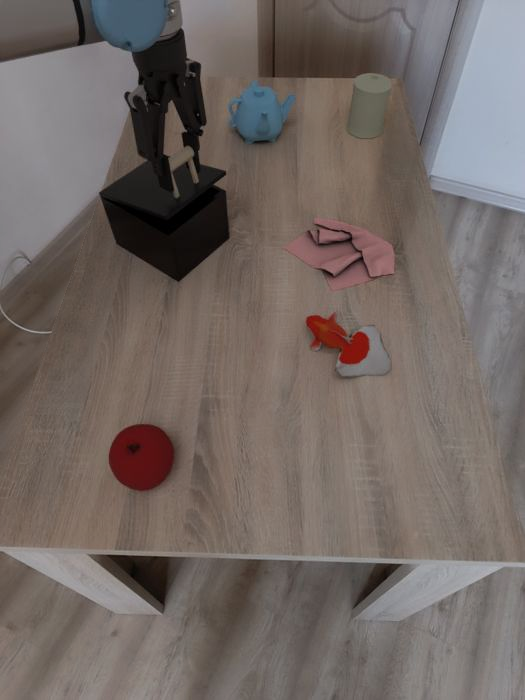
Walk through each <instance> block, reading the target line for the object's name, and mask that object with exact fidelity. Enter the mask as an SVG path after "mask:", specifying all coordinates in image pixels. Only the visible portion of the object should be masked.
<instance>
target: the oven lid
mask: <svg viewBox="0 0 525 700" xmlns="http://www.w3.org/2000/svg"><path fill="white" fill-rule="evenodd" d="M167 156H168V159H169V165H170V170H171V175H172V181H173V186H174V191H173V192H172V193H171V192H169V191H167V190H165V189H163V188H161V187H160V185H159V181H158V176H157V175H156V174H155V173H154V172H153V167H152V163H151V161H149V160H147V159H146V161H144V162H142V163H141V164H139V165H138V166H137V167H136V166H135V168H133V169H132V170H130V171H128V172H127V173H126V174H125V175H123V176H122V177H120V178H118V179H117V180H115V181H114V182H113V183H111V184H110V185H108V186H106V187H105V188H103V189H102V190H101V191H99V192H98V194H99V197H100V198H101V197H104V198H106V199H109V200H112V201H115V202H118V203H120V204H123V205H126V206H129V207H131V208H134V209H137V210H140V211H143V212H145V213H148V214H151V215H154V216H156V217H159V218H162V219H165V220H168V219H169V218H171V217H172V216H173V215H175V214H176V213H177V212H179V211H180V210H181V209H182V208H184V207H185V206H186V205H188V204H189V203H190V202H192V201H193V200H194V199H195V198H197V197H198V196H199V195H201V194H202V193H203V192H205V191H206V190H207V189H209V188H210V187H211V186H212V185H216V183H218V182H219V181H221V180H222V179H223V178H225V177H226V176H227V170H224V169H221V168H217V167H213V166H209V165H206V164H202V163H200V168H201V172H199V173H196V169H195V165H194V162H193V158H192V157H194V151H193V149H192V148H191V147H190V146H186V147H182V148H181V149H180V150H178V151H177V152H176V153H173V155H171V156H170V155H167ZM187 161H188V164H189V168H190V169H188V168H187V167H186V162H187Z"/></svg>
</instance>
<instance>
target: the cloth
mask: <svg viewBox="0 0 525 700" xmlns="http://www.w3.org/2000/svg"><path fill="white" fill-rule="evenodd" d="M313 225H316V231H314V230H311V229H307V230H306V231H305V232H304V233H303V234H302V235H300V236H299V237H297V238H295V239H293V241H291V242H290V243H289V244H287V245H285V246H284V247H283V248H284V250H286V251H287V252H289V253H291V254H292V255H293V256H295V257H296V258H298V259H300V260H301V261H302V262H304V263H306V264H307V265H308V266H310V267H312V268H313V269H321V272H322V273H323V275H324V277H325V281H326V282H327V284H328V286H329V287H330V291H332V292H335V291H339V290H343V289H347V288H350V287H354V286H357V285H361V284H364V283H367V282H370V281H375V280H377V279H378V278H379V277H380V276H384V275H385V276H388V275H395V274H396V273H395V270H396V269H395V268H396V255H395V250H394V245H393V244H392V243H391V242H390V241H388V240H384V239H383V238H381V237H380V236H377V235H375V234H374V233H372V232H370V231H369V230H367V229H365V228H362V227H360V226H358V225H354V224H349V223H346V222H344V221H337V220H335V219H331V218H323V217H322V218H321V217H315V218H314V220H313Z"/></svg>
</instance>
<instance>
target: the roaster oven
mask: <svg viewBox="0 0 525 700" xmlns="http://www.w3.org/2000/svg"><path fill="white" fill-rule="evenodd" d="M100 201H101V202H102V206H103V209H104V211H105V215H106V218H107V220H108V221H107V222H108V223H109V226H110V229H111V232H112V235H113V239H114V241H115V244H116V245H117V246H119V247H121V248H123V249H124V250H125V251H127V252H129V253H130V254H132V255H134V256H135V257H137V258H139V259H140V260H142V261H143V262H145V263H147V264H148V265H150V266H151V267H153V268H155V269H157V270H158V271H160V272H161V273H163V274H165V275H166V276H168V277H169V278H170V279H172V280H174V281H176V282H178V283H180V282H181V281H182V280H183V279H184V278H185V277H186V276H187V275H189V274H190V273H191V272H192V271H194V269H196V268H197V267H198V266H199V265H200V264H201V263H202V262H204V261H205V260H206V259H207V258H208V257H210V256H211V255H212V254H213V253H214V252H215V251H217V249H219V248H220V247H221V246H222V245H223V244H225V243H226V242H228V240H229V239H230V225H229V214H228V212H229V211H228V201H227V190H225V189H224V188H221V187H220V186H218V185H216V184H214V185H212V186H211V187H210V188H209V189H207V190H206V191H205V192H203V193H202V194H201V195H199V196H198V197H197V198H195V199H194V200H193V201H192V202H190V203H189V204H188V205H186V206H185V207H184V208H182V209H181V210H180V211H179V212H177V213H176V214H175V215H173V216H172V217H171V218H169V219H168V220H165V219H162V218H159V217H156V216H154V215H151V214H148V213H145V212H143V211H140V210H137V209H134V208H131V207H129V206H126V205H123V204H120V203H118V202H115V201H112V200H109V199H106V198H104V197H101V196H100Z"/></svg>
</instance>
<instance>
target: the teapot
mask: <svg viewBox="0 0 525 700" xmlns="http://www.w3.org/2000/svg"><path fill="white" fill-rule="evenodd" d="M296 98H297V96H296V94H295V93H289V95H288V96H286V99H285V100H284V101H283V103H282V104H280V101H279V99H278V96H277V95H276V93H275V91H274V90H273V88H271V87H269V86H260V85H259V81H258V80H252V81H250V82H249V87H247V88H244V89H243V90H242V92H241V94H240V96H239V97H233V98H232V99H231V100H230V101H229V102H228V111H229V113H230V115H231V117H229V119H228V121H227V122H228V123H227V124H228V125H229V127H231V128H236V129H237V130H238V132H239V134H240V135H241V136H242V137H243V139H244V141H245V143H246V144H249V145H251V144H254V143H255V142H257V141H260V142H261V141H267V142H269V143H270V142H271V143H272V142H273V143H274V142H276V140H277V137H278V136H279V135H280V134H281V131H282V130H283V126H284V123H285V121H286V119H287V117H288V115H289V113H290V112H291V111H290V110H291V109H292V107H293V104H294V102H295V100H296ZM236 103H237V104H236ZM234 104H236V109H235V113H234V110H233V105H234ZM232 121H233V122H232Z"/></svg>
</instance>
